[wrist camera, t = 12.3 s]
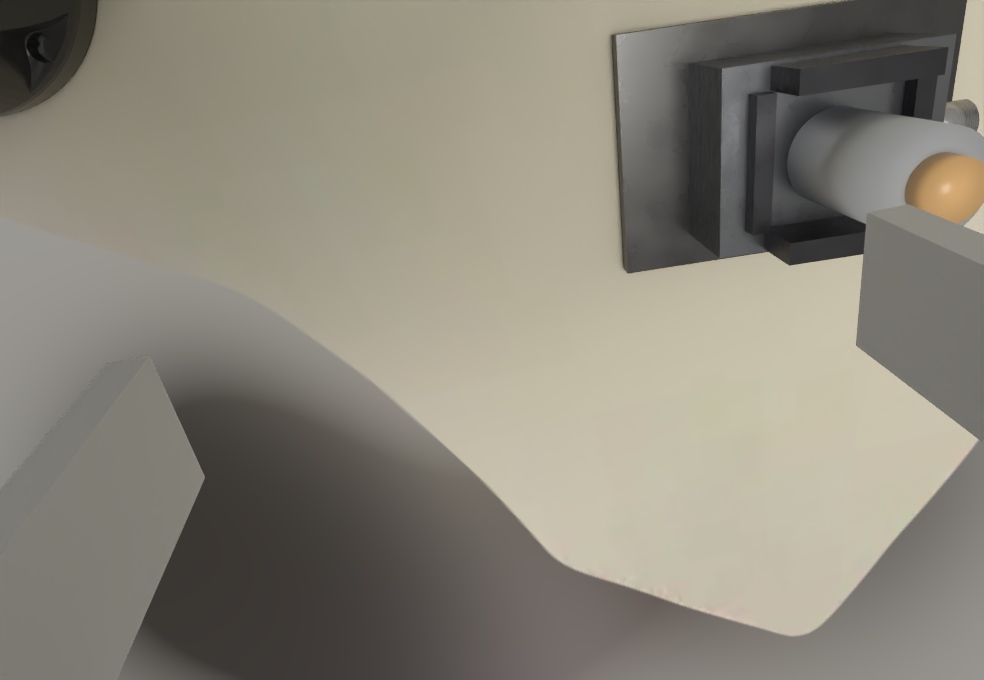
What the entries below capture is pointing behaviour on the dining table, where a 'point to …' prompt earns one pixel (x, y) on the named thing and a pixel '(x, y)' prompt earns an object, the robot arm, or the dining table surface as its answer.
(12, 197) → the dining table surface
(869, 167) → the grey cylinder with ball
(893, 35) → the stepped square mount
